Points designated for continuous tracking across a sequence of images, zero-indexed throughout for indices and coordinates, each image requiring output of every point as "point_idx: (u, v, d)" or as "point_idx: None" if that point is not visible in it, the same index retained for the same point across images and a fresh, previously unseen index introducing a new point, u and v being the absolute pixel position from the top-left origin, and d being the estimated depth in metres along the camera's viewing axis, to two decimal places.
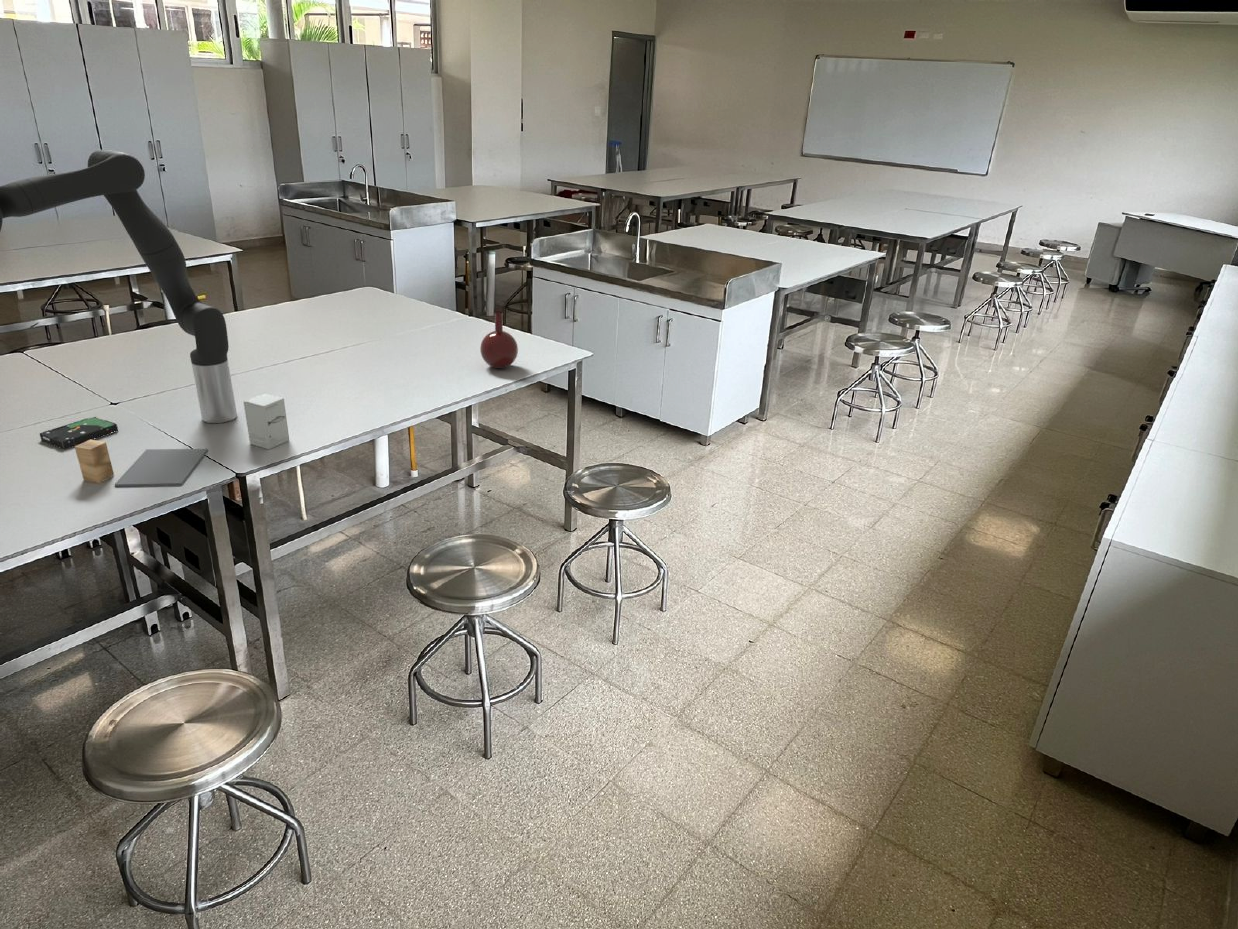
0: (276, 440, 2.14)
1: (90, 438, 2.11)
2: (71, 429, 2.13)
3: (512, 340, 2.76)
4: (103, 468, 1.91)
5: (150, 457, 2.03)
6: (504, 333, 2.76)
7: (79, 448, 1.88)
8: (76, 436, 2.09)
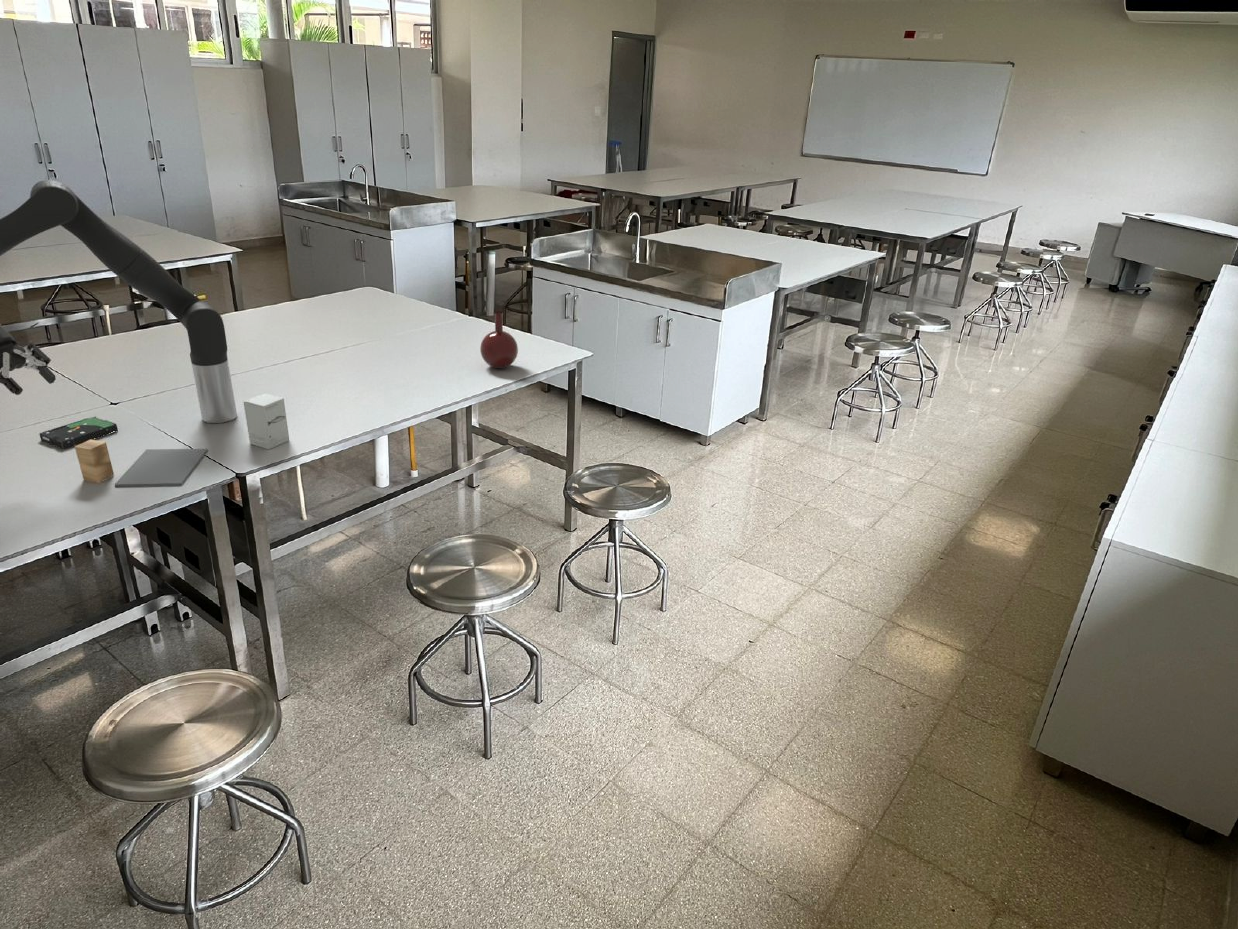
0: (276, 440, 2.14)
1: (90, 438, 2.11)
2: (70, 429, 2.13)
3: (512, 340, 2.76)
4: (103, 468, 1.91)
5: (150, 457, 2.03)
6: (504, 333, 2.76)
7: (79, 448, 1.88)
8: (76, 436, 2.09)
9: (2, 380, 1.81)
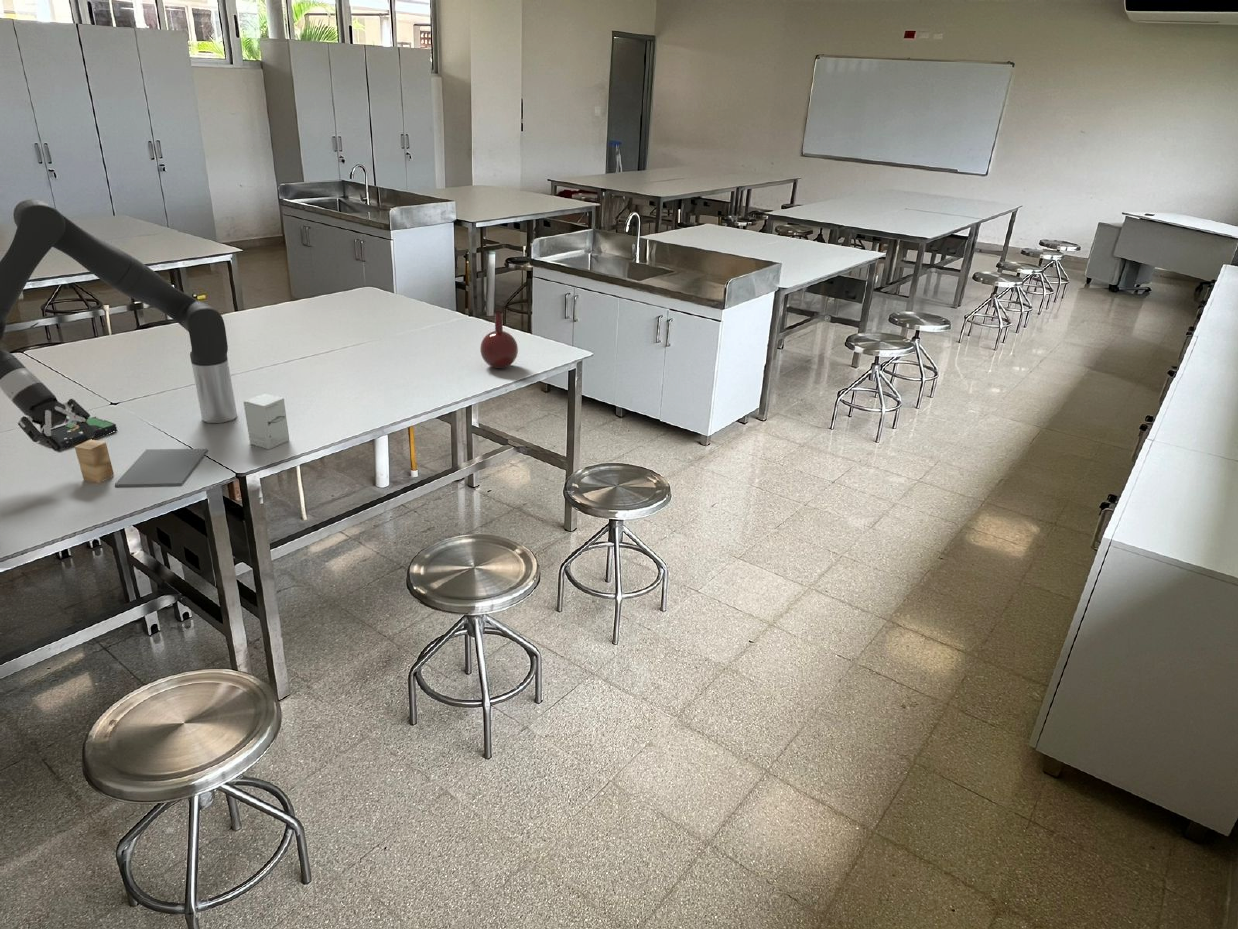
0: (276, 440, 2.14)
1: None
2: (70, 428, 2.13)
3: (512, 340, 2.76)
4: (103, 468, 1.91)
5: (150, 457, 2.03)
6: (504, 333, 2.76)
7: (79, 448, 1.88)
8: (74, 436, 2.09)
9: (44, 438, 1.85)
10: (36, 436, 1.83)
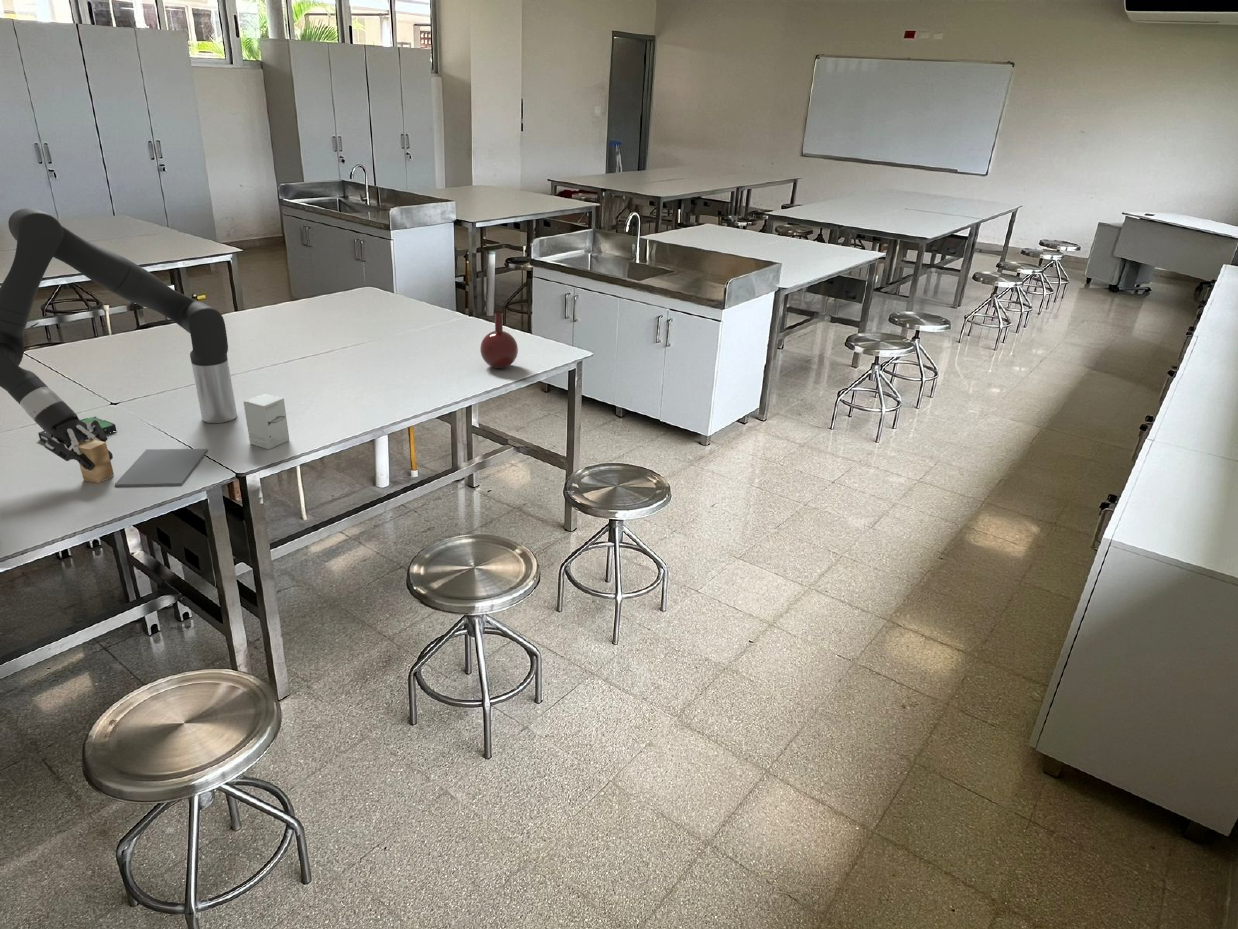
0: (276, 440, 2.14)
1: (88, 438, 2.11)
2: None
3: (512, 340, 2.76)
4: (103, 468, 1.91)
5: (150, 457, 2.03)
6: (504, 333, 2.76)
7: (79, 448, 1.88)
8: None
9: (76, 457, 1.87)
10: (68, 455, 1.85)
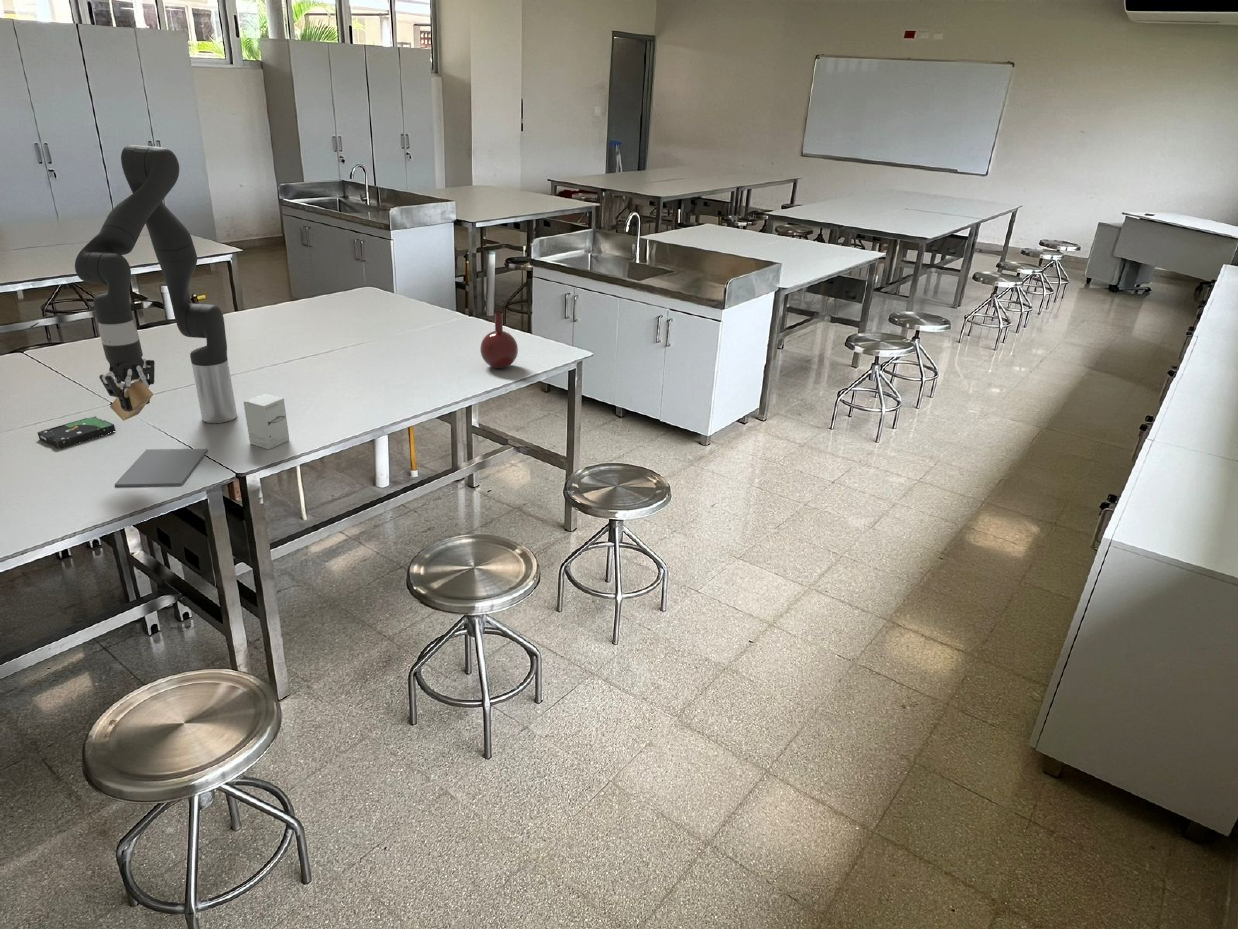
0: (276, 440, 2.14)
1: (86, 438, 2.11)
2: (68, 428, 2.13)
3: (512, 340, 2.76)
4: (135, 410, 1.92)
5: (150, 457, 2.03)
6: (504, 333, 2.76)
7: (128, 391, 1.87)
8: (72, 436, 2.09)
9: (121, 397, 1.86)
10: (116, 395, 1.84)
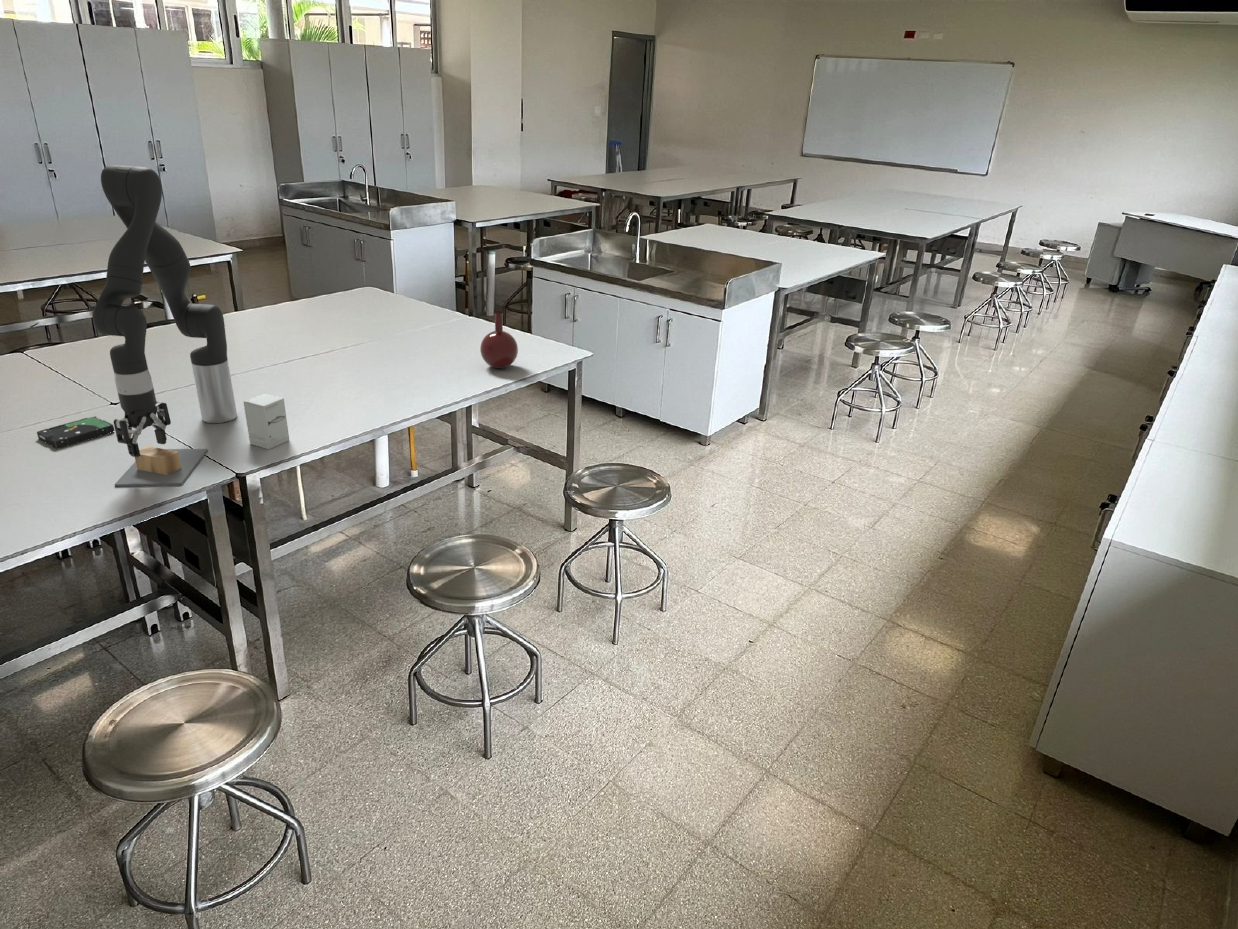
0: (276, 440, 2.14)
1: (85, 438, 2.11)
2: (68, 428, 2.13)
3: (512, 340, 2.76)
4: None
5: None
6: (504, 333, 2.76)
7: (164, 463, 1.94)
8: (70, 436, 2.09)
9: (129, 443, 1.90)
10: (124, 442, 1.88)
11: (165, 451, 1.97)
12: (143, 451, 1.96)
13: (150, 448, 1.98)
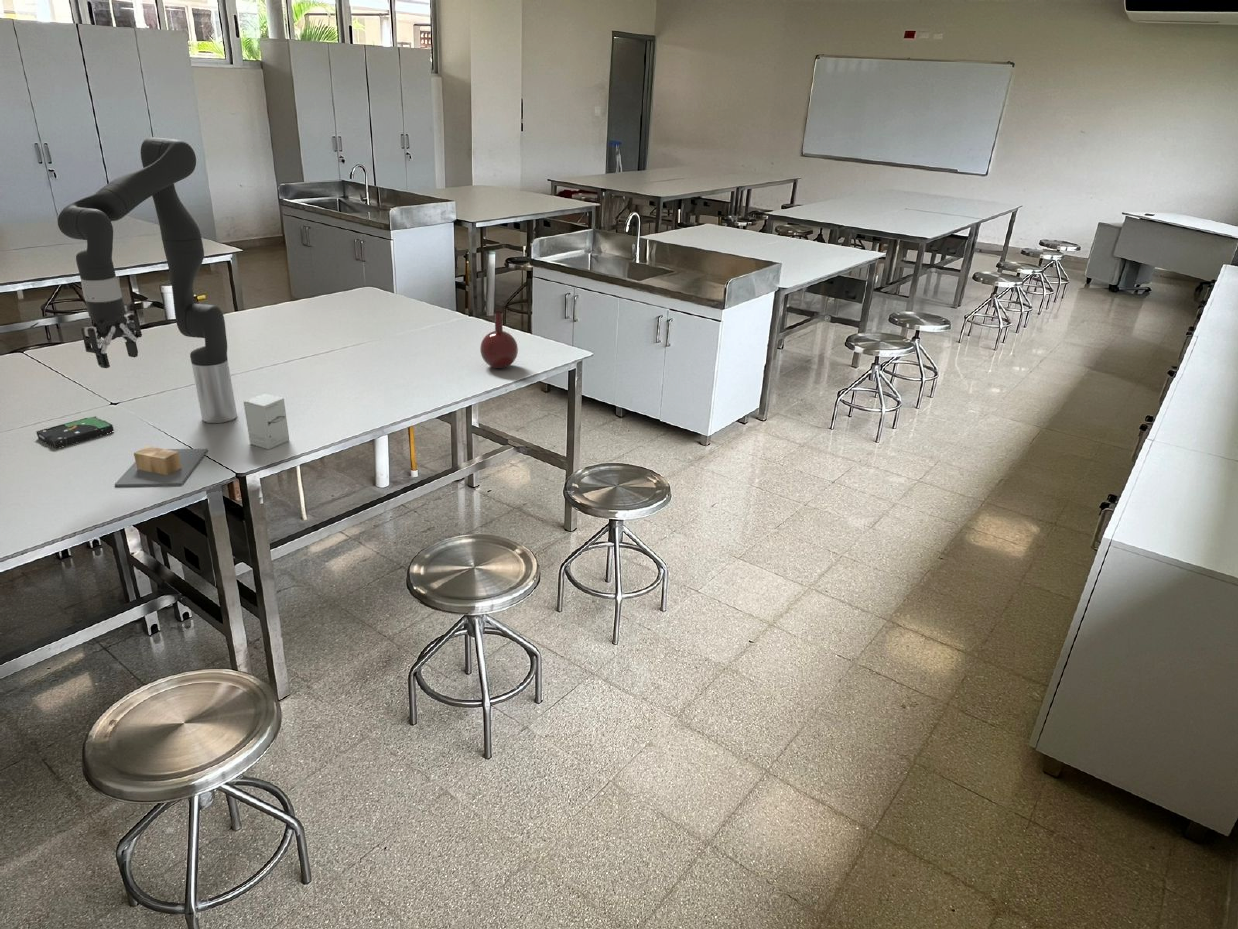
0: (276, 440, 2.14)
1: (84, 438, 2.11)
2: (67, 428, 2.13)
3: (512, 340, 2.76)
4: None
5: None
6: (504, 333, 2.76)
7: (164, 463, 1.94)
8: (69, 436, 2.09)
9: (97, 353, 1.85)
10: (93, 351, 1.84)
11: (165, 451, 1.97)
12: (143, 451, 1.96)
13: (150, 448, 1.98)
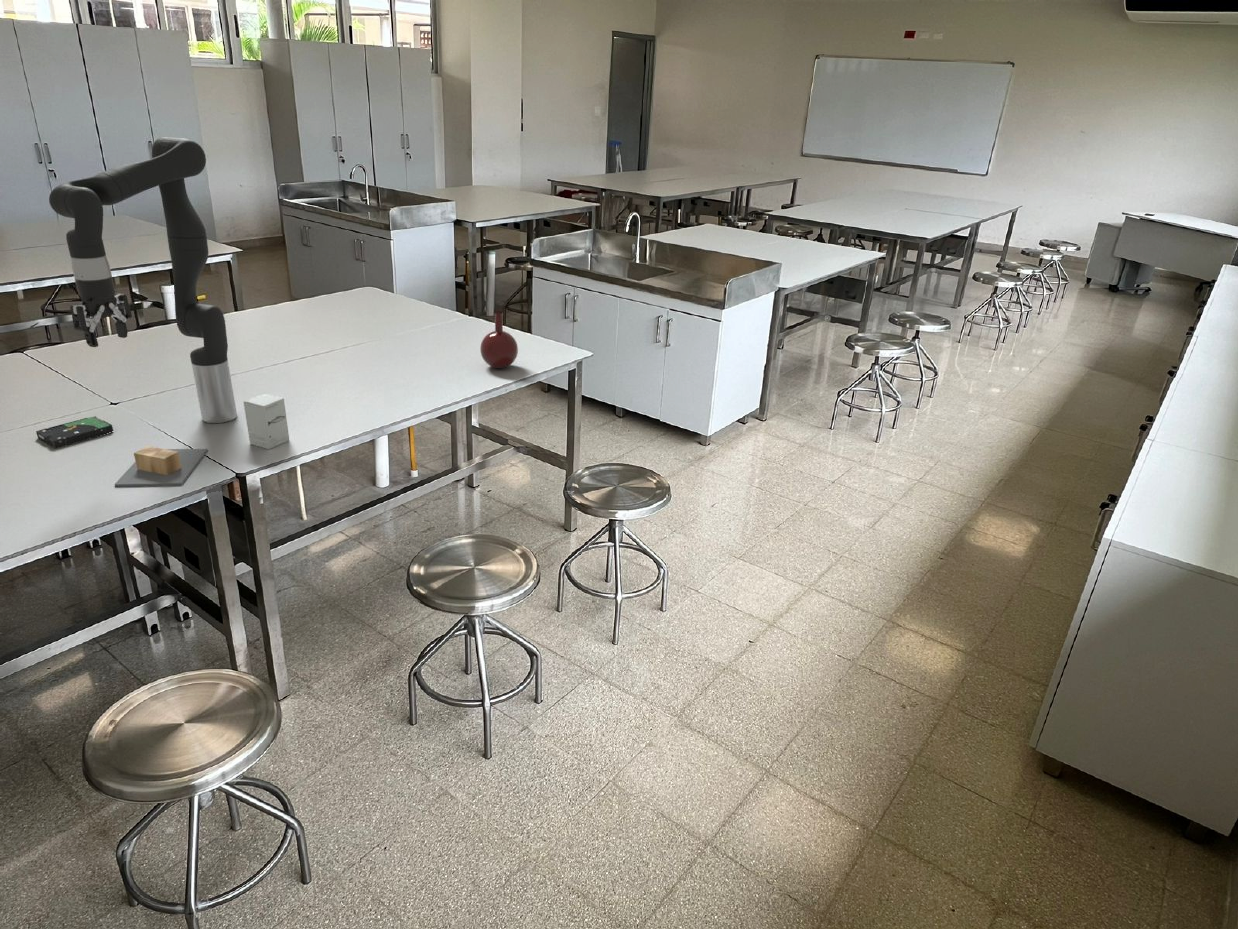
0: (276, 440, 2.14)
1: (83, 438, 2.11)
2: (67, 428, 2.13)
3: (512, 340, 2.76)
4: None
5: None
6: (504, 333, 2.76)
7: (164, 463, 1.94)
8: (68, 436, 2.09)
9: (86, 332, 1.86)
10: (81, 329, 1.84)
11: (165, 451, 1.97)
12: (143, 451, 1.96)
13: (150, 448, 1.98)
